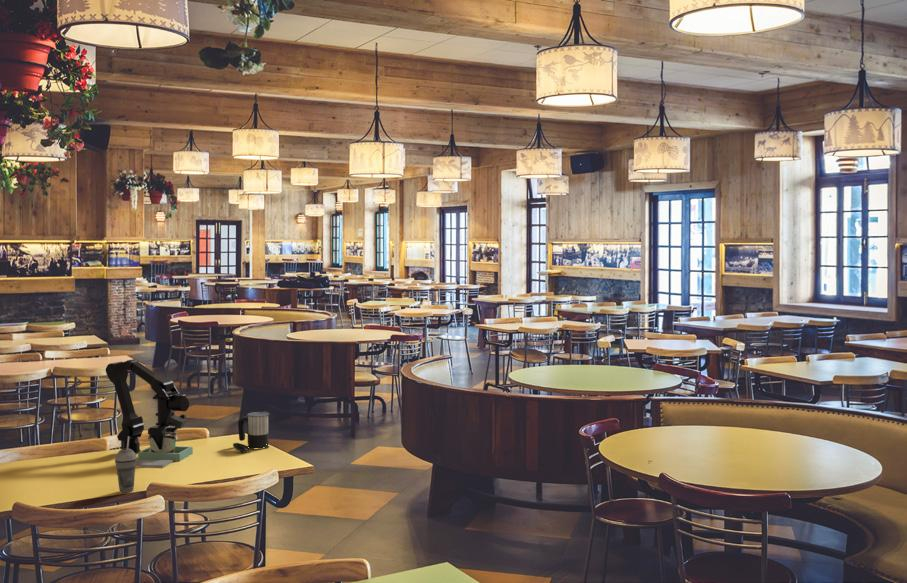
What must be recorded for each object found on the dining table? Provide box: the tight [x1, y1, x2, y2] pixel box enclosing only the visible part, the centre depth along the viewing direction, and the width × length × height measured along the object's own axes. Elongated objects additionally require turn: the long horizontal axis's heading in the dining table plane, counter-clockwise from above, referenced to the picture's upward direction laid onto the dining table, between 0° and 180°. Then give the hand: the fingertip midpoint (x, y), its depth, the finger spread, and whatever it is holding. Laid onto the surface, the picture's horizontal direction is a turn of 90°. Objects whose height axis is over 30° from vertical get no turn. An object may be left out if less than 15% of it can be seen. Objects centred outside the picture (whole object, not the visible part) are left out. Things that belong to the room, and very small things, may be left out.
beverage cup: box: [114, 436, 138, 494], centre depth 289 cm, size 7×7×20 cm
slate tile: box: [135, 459, 173, 468], centre depth 326 cm, size 14×8×1 cm, turn 83°
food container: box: [147, 432, 178, 453], centre depth 338 cm, size 12×6×10 cm, turn 84°
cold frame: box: [137, 445, 194, 462], centre depth 338 cm, size 18×12×3 cm, turn 83°
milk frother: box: [232, 411, 270, 453], centre depth 350 cm, size 14×16×15 cm
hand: (165, 446), depth 338 cm, fingers open, 8 cm apart
